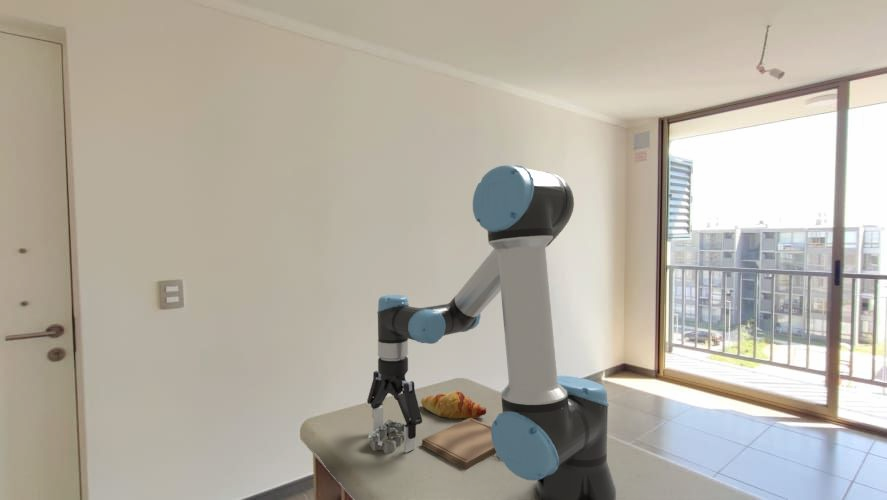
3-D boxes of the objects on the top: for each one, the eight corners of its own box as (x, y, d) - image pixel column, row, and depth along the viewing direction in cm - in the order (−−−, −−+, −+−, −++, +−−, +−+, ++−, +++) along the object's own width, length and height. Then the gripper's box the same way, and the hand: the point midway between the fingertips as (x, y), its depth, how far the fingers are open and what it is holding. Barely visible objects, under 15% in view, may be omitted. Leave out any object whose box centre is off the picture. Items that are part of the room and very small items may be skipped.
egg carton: (390, 456, 98) (390, 439, 98) (364, 449, 102) (364, 433, 102) (413, 437, 108) (413, 421, 108) (388, 431, 111) (388, 416, 111)
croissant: (417, 421, 125) (410, 402, 121) (429, 396, 133) (424, 377, 129) (483, 433, 116) (478, 413, 112) (493, 405, 124) (488, 386, 121)
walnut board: (514, 441, 105) (514, 435, 105) (466, 469, 92) (466, 461, 92) (470, 423, 116) (470, 417, 116) (422, 445, 103) (422, 438, 103)
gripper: (437, 364, 98) (436, 453, 99) (377, 345, 116) (377, 421, 116) (412, 371, 93) (412, 465, 94) (353, 350, 111) (354, 429, 111)
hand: (393, 441), depth 105 cm, fingers open, 12 cm apart
